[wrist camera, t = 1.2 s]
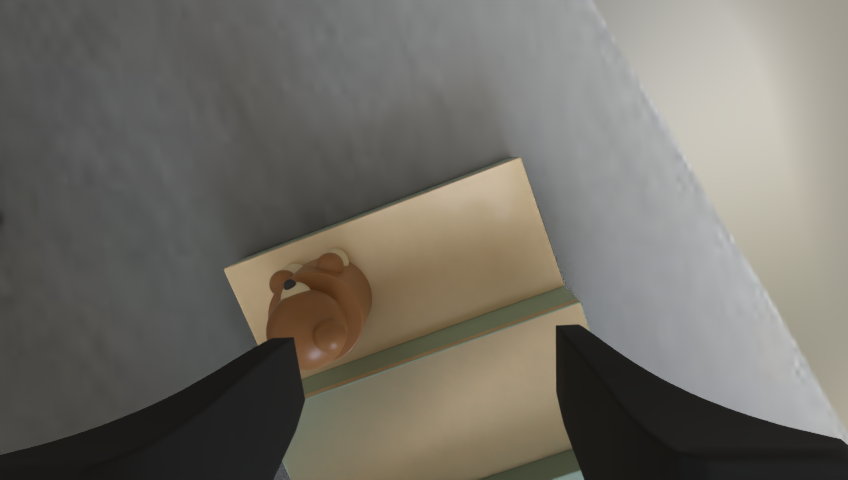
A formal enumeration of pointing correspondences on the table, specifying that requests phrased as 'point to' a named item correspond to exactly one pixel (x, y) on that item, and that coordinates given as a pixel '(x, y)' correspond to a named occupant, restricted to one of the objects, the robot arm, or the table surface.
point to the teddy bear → (319, 308)
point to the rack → (436, 339)
